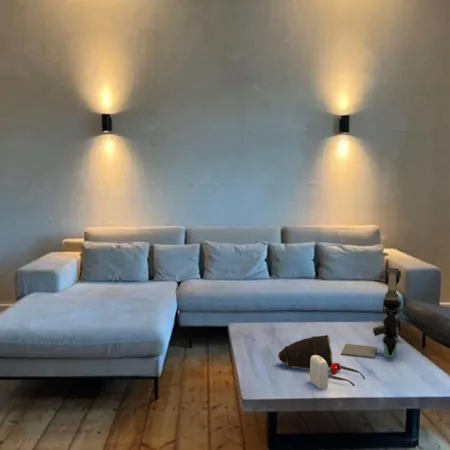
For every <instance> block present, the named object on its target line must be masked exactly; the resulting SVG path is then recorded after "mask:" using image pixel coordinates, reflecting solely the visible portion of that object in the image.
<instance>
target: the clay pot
mask: <svg viewBox="0 0 450 450" xmlns="http://www.w3.org/2000/svg"><path fill="white" fill-rule="evenodd" d="M331 348H332V347H331V340H330V336H329V334H328V335H327V334H325V335H319V336H318V335H317V336H316V335H314V336H312V337H307V338H302V339H300V340H297V341H295V342H294V341H293V342H292V343H291V344H289V345H285V346H284V348H283V349H282V350H281V351H279V352H278V354H277V358H278V359H279V360H280V361H281V363H284V364H286V366H288V367H290V368H292V369H301V370H307V371H310V359H311V357H312V356H313V355H318V356H320V357H322V358H323V359H324V360H325V361H326V362H327V364H328V367H329V368H330V367H331V365H332V364H333V363H334V361H333V353H332V352H333V351H332V349H331Z"/></svg>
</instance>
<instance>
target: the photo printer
mask: <svg viewBox="0 0 450 450" xmlns="http://www.w3.org/2000/svg"><path fill="white" fill-rule="evenodd" d="M309 381H310V382H311V384H313V385H314V386H315V387H317V389H320V390H327V388H328V384H329V378H328V364H327V362H326V361H325V360H324V359H323V358H322V357H320V356H318V355H313V356H312V357H311V359H310V370H309Z"/></svg>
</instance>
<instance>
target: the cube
mask: <svg viewBox="0 0 450 450" xmlns="http://www.w3.org/2000/svg"><path fill="white" fill-rule="evenodd" d="M383 357H386V358H394V359H396V358H397V357H398V343H397V344H396V346H395V348H394V350H393V352H392V354H391V355H389V353H388V348H387V345H386V344H385V343H383Z"/></svg>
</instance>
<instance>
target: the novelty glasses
mask: <svg viewBox="0 0 450 450" xmlns="http://www.w3.org/2000/svg"><path fill="white" fill-rule="evenodd" d="M341 370H344V371H348V372H349V371H350V372H353V373H359V374H360V376H361V377H362V378H363V380H365V379H366V378H365V376H364V374H362V372H360V371H359V370H356V369H354V368H352V367H347V366H344V365H341V364H340V363H338V362H333V364H332V365H331V367H330V368H329V367H328V379H331V380H335V381H336V380H337V381H345V382H349V384H351V385H352V386H353V387H355V386H356V385H355V383H353V382H352V381H351V380H349V379H346V378H344V377H339V376H336V372H340V371H341ZM331 374H332V375H331Z"/></svg>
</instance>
